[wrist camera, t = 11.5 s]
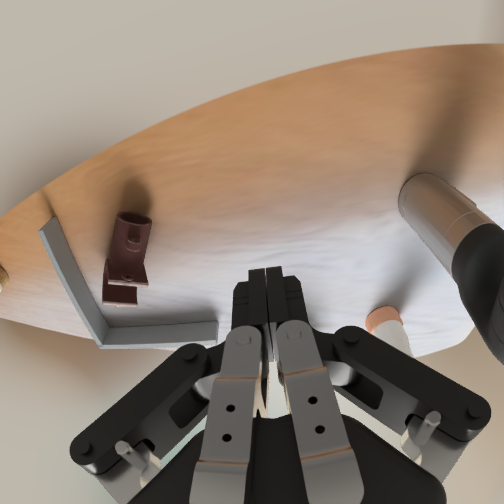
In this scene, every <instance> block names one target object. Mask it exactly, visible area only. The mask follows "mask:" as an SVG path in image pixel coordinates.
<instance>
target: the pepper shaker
mask: <svg viewBox="0 0 504 504" xmlns="http://www.w3.org/2000/svg"><path fill="white" fill-rule="evenodd" d="M366 328H367V331H368V332H369V333H371V334H372V335H374V336H376V337H377V338H379V339H381V340H383V341H384V342H386V343H388V344H390V345H391V346H393V347H395V348H397V349H398V350H400V351H402V352H404V353H405V354H407V355H409V356H410V357H412V358H414V357H413V355H412V353H411V349H410V344H409V340H408V337H407V334H406V332H405V330H404V328H403V322H402V320H401V318H400V316H399V314H398V312H397V310H396V309H395V308H394V307H391V306H384V307H380V308H378V309H376V310H374V311H373V312H372V313H370V314H369V316H368V317H367V319H366Z"/></svg>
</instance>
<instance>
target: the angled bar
mask: <svg viewBox="0 0 504 504" xmlns="http://www.w3.org/2000/svg"><path fill="white" fill-rule="evenodd" d="M38 233H39V235H40V238H41V240H42V242H43V244H44V247H45V249H46V251H47V253H48V255H49V258H50V260H51V262H52V264H53V266H54V268H55V270H56V272H57V274H58V276H59V278H60V280H61V282H62V284H63V286H64V288H65V290H66V292H67V293H68V295H69V297H70V299H71V301H72V303H73V304H74V306H75V308H76V310H77V312H78V313H79V315H80V317H81V319H82V320H83V322H84V324H85V325H86V327H87V329H88V330H89V332H90V334H91V335H92V337H93V339H94V340H95V341H96V343H97V345H98V346H99V348H100V349H132V348H133V349H134V348H166V347H181V346H183V345H186V344H189V343H198V344H201V345H216V344H217V339H218V328H219V324H218V321H210V322H198V323H185V324H172V325H156V326H138V327H117V328H109V326H108V324H107V323H106V321H105V319H104V317H103V315H102V313H101V312H100V310H99V308H98V306H97V304H96V302H95V300H94V298H93V296H92V294H91V292H90V290H89V288H88V286H87V284H86V282H85V280H84V278H83V276H82V274H81V272H80V270H79V268H78V265H77V263H76V261H75V259H74V257H73V254H72V252H71V250H70V248H69V245H68V243H67V241H66V238H65V236H64V233H63V231H62V228H61V226H60V224H59V221H58V218H57V217H53V218H51V219H50V220H49V221H48V222H47V223H46V224H45V225H44V226H43V227H42V228H41V229H40V230H39V231H38Z"/></svg>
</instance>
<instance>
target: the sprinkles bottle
mask: <svg viewBox="0 0 504 504" xmlns="http://www.w3.org/2000/svg"><path fill="white" fill-rule="evenodd" d="M8 281H9V278H8V275H7V273H6V272H5V271H4V270H3V269H2V268H0V292H1V290H2V288H3V287H4V286H5V285H6V284H7V283H8Z"/></svg>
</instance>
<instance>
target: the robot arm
mask: <svg viewBox="0 0 504 504" xmlns="http://www.w3.org/2000/svg"><path fill="white" fill-rule="evenodd" d="M398 206H399V211H400V213H401V215H402V217H403V218H404V219H405V220H406V221H407V223H408V224H409V225H410V226H411V227H412V228H413V230H414V231H415V232H416V233H417V234H418V236H419V237H420V238H421V239H422V240H423V242H424V243H425V244H426V245H427V246H428V248H429V249H430V250H431V251H432V253H433V254H434V255H435V256H436V258H437V259H438V260H439V261H440V263H441V264H442V265H443V266H444V268H445V269H446V270H447V272H448V273H449V274H450V275H451V277H452V278H453V279H454V281H455V282H456V283H457V285H458V288H459V293H460V297H461V300H462V302H463V305H464V306H465V308H466V310H467V311H468V313H469V315H470V317H471V318H472V320H473V322H474V324H475V325H476V327H477V329H478V331H479V333H480V334H481V336H482V338H483V340H484V342H485V343H486V345H487V346H488V348H489V349H490V351H491V352H492V354H493V355H494V356H495V357H496V358H497V359H498V360H499V361H500V362H501V363H502V364H503V365H504V230H503V229H502V228H501V227H499V226H498V225H497V224H496V223H495V222H494V221H492V220H491V219H490V218H489V217H488V216H486V215H485V214H484V213H483V212H482V211H480V210H479V209H478V208H477V206H476V204H475V203H474V202H473V201H472V200H470V199H469V198H468V197H466V196H465V195H464V194H463V193H461V192H460V191H459V190H457V189H456V188H455V187H453V186H452V185H450V184H449V183H448V182H446V181H442V180H440V179H439V178H438V177H436V176H434V175H433V174H429V173H421V174H418V175H415V176H414V177H412V178H411V179H409V180H408V181H407V182H406V184H405V185H404V186H403V188H402V190H401V192H400V195H399V201H398ZM266 280H267V282H266ZM272 341H273V342H272ZM273 348H274V354H275V360H276V361H280V369H281V376H282V382H283V387H284V392H285V398H286V403H287V409H288V415H285V416H282V417H279V418H275V419H270V418H268V413H267V412H268V390H269V362H273V361H274V355H273ZM334 390H335V391H337V392H338V393H340V394H341V395H342V396H344V397H345V398H347V399H348V400H349V401H351V402H353V403H354V404H355V405H357V406H358V407H359V408H361V409H362V410H364V411H365V412H367V413H368V414H370V415H371V416H372V417H374V418H376V419H377V420H379V421H380V422H381V423H383V424H384V425H386V426H387V427H389V428H390V429H392V430H393V431H395V432H396V433H398V434H399V435H401V447H402V449H403V451H404V452H405V453H406V454H407V455H408V456H409V457H410V458H411V459H409V458H408V457H407V456H405V455H404V454H402V453H401V452H400V451H398V450H397V449H396V448H394V447H393V446H391V445H390V444H389V443H387V442H386V441H385V440H383V439H382V438H380V437H379V436H378V435H377V434H375V433H374V432H373V431H371V430H370V429H369V428H367V427H366V426H365V425H363V424H362V423H361V422H359V421H358V420H356V419H354V418H352V417H349V416H346V415H343V414H341V413H340V409H339V406H338V402H337V399H336V396H335V392H334ZM206 415H207V420H206V425H205V429H204V430H202V431H201V432H199V433H198V434H197V435H195V436H194V437H193V438H192V439H191V440H190V441H189V442H188V443H187V444H186V445H185V446H184V447H183V448H182V449H181V451H180V452H179V453H178V454H177V455H176V456H175V457H174V458H173V459H172V460H171V461H170V462H169V463H168V464H167V465H166V466H165V467H164V468H163V469H162V470H161V462H160V460H161V459H162V458H163V457H164V456H165V455H166V454H167V453H168V452H169V451H170V450H172V449H173V448H174V447H175V445H177V444H178V443H179V442H180V441H181V440H182V439H183V438H184V437H185V436H186V435H187V434H188V433H189V432H190V431H191V430H192V429H193V428H194V427H195V426H196V425H197V424H198V423H199V422H200V421H201V420H202V419H203V418H204V417H205V416H206ZM490 418H491V408H490V405H489V403H488V402H487V401H486V400H485V399H484V398H483V397H481V396H479V395H477V394H476V393H474V392H472V391H470V390H468V389H467V388H465V387H463V386H461V385H460V384H458V383H456V382H454V381H452V380H451V379H449V378H447V377H445V376H444V375H442V374H440V373H438V372H437V371H435V370H433V369H431V368H430V367H428V366H426V365H424V364H423V363H421V362H419V361H417V360H416V359H414V358H412V357H410V356H409V355H407V354H405V353H404V352H402V351H400V350H398V349H397V348H395V347H393V346H391V345H390V344H388V343H386V342H384V341H383V340H381V339H379V338H377V337H376V336H374V335H372V334H371V333H369V332H367V331H365V330H364V329H362V328H360V327H357V326H345V327H342V328H340V329H339V330H337V331H336V332H335V334H329V333H322V332H319V331H317V330H315V329H314V328H312V327H311V325H310V324H309V321H308V317H307V312H306V307H305V302H304V298H303V293H302V288H301V283H300V281H299V280H298V279H297V278H296V277H295V276H286V277H283V274H282V267H281V266H277V267H269V268H266V275H265V269H264V268H262V269H254V270H249V281H246V282H238V284H237V285H236V287H235V289H234V291H233V308H232V326H231V331H230V332H229V333H228V335H227V337H226V340H225V341H224V342H222V343H221V344H219V345H217V346H214V347H211V348H208V349H206V348H205V347H204V346H203V345H201V344H198V343H189V344H186V345H183V346H181V347H180V348H179V349H177V350H176V351H175V352H174V353H173V354H172V355H171V356H169V357H168V358H167V359H166V360H165V361H164V362H163V363H162V364H160V365H159V366H158V367H157V368H156V369H155V370H154V371H152V372H151V373H150V374H149V375H148V376H147V377H145V378H144V379H143V380H142V381H141V382H140V383H139V384H138V385H136V386H135V387H134V388H133V389H132V390H130V391H129V392H128V393H127V394H126V395H125V396H124V397H122V398H121V399H120V400H119V401H118V402H117V403H115V404H114V405H113V406H112V407H111V408H109V409H108V410H107V411H106V412H105V413H104V414H102V415H101V416H100V417H99V418H98V419H97V420H95V421H94V422H93V423H92V424H91V425H90V426H88V427H87V428H86V429H85V430H83V431H82V432H81V433H80V434H79V435H78V436H77V437H75V438H74V440H73V441H72V443H71V445H70V456H71V458H72V459H73V461H74V462H75V463H77V464H78V465H80V466H81V467H82V468H84V469H85V470H86V471H87V472H88V473H90V474H91V475H93V476H94V477H96V478H97V479H98V480H99V481H100V483H101V484H102V485H103V486H104V488H105V489H106V490H107V491H108V492H109V493H110V494H111V496H112V497H113V498H114V499H115V500H116V501H117V502H118V503H119V504H446V502H447V501H446V500H447V499H446V493H445V490H444V487H443V485H442V482H443V481H444V479H445V478H446V477H447V475H448V474H449V472H450V471H451V469H452V468H453V466H454V465H455V463H456V462H457V460H458V459H459V457H460V456H461V454H462V452H463V451H464V449H465V448H466V446H467V445H468V444H469V443H470V442H471V441H472V440H473V439H474V438H475V437H476V436H477V435H478V434H479V433H480V432H481V431H482V429H483V428H484V427H485V426H486V425H487V424H488V422H489V420H490ZM160 470H161V471H160Z"/></svg>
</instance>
